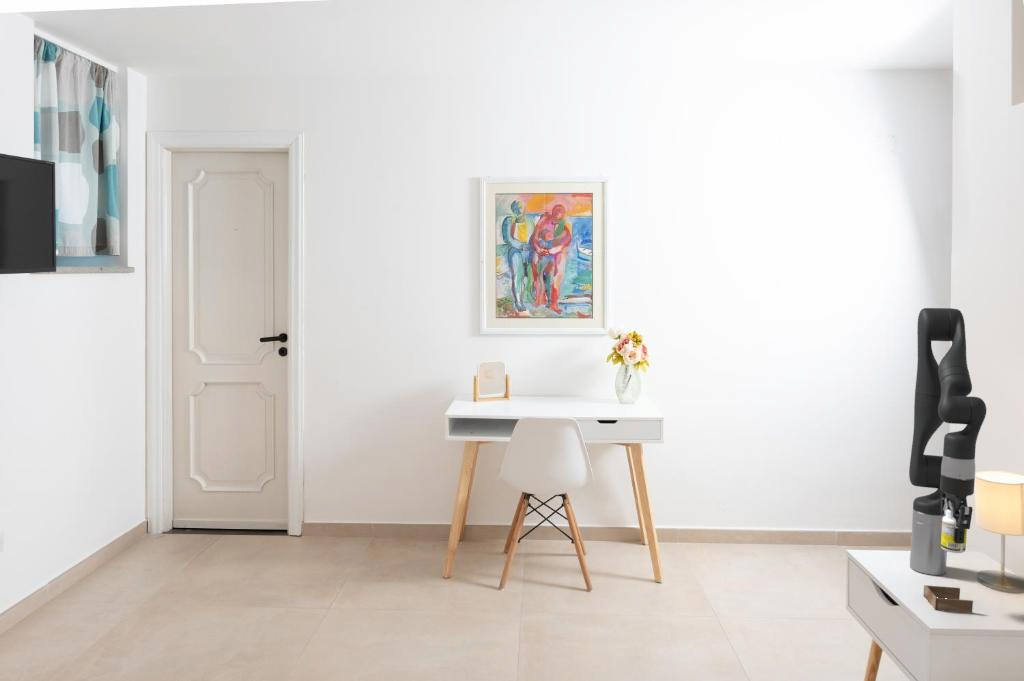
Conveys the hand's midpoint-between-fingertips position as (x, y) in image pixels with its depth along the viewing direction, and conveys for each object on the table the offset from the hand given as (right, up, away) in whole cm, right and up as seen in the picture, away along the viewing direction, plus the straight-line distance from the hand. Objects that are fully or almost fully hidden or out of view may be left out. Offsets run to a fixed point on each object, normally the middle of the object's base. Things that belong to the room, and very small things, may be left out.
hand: (953, 538), depth 201 cm
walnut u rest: (-1, -17, +2) cm, 17 cm away
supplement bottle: (0, -3, 0) cm, 3 cm away
